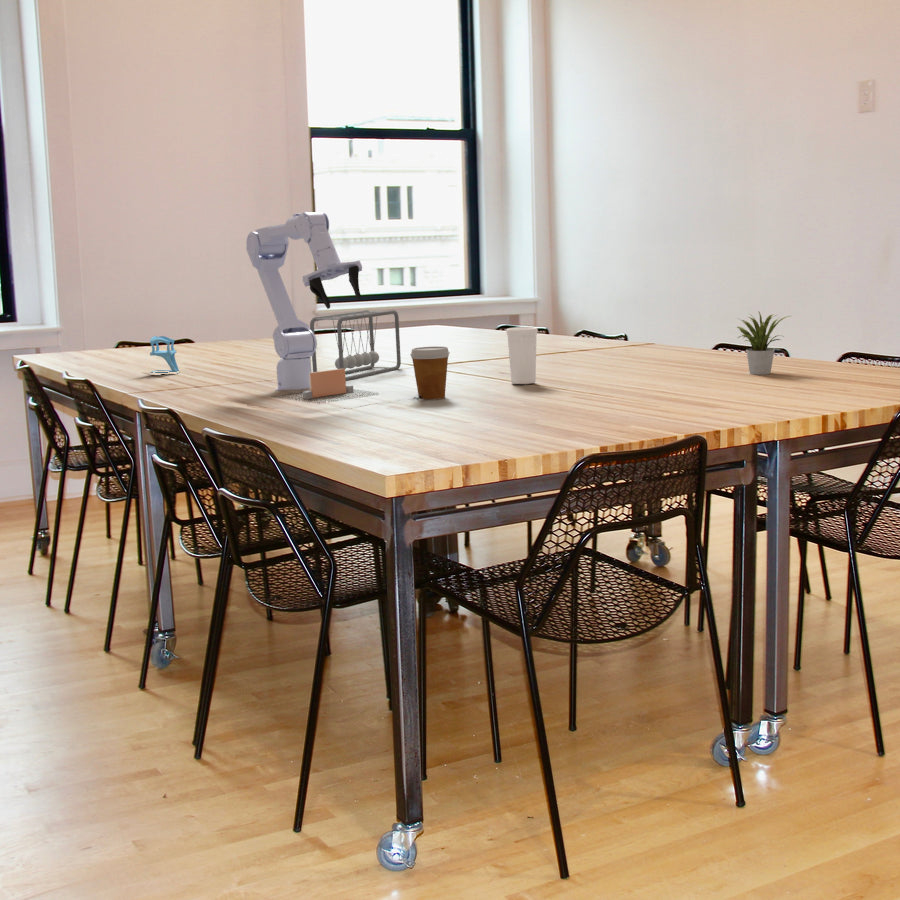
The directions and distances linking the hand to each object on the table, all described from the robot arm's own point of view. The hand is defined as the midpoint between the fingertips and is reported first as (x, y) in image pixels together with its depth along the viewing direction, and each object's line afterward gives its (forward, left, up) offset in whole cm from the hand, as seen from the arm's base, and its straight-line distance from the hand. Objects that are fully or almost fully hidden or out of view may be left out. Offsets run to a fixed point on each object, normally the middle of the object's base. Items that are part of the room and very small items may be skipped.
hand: (344, 302), depth 265 cm
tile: (-6, -2, -23) cm, 23 cm away
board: (-7, -2, -24) cm, 25 cm away
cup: (+15, +44, -24) cm, 52 cm away
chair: (-100, +1, -24) cm, 103 cm away
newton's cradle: (-42, +33, -24) cm, 58 cm away
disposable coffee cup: (+14, +14, -24) cm, 31 cm away
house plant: (+55, +92, -24) cm, 110 cm away
